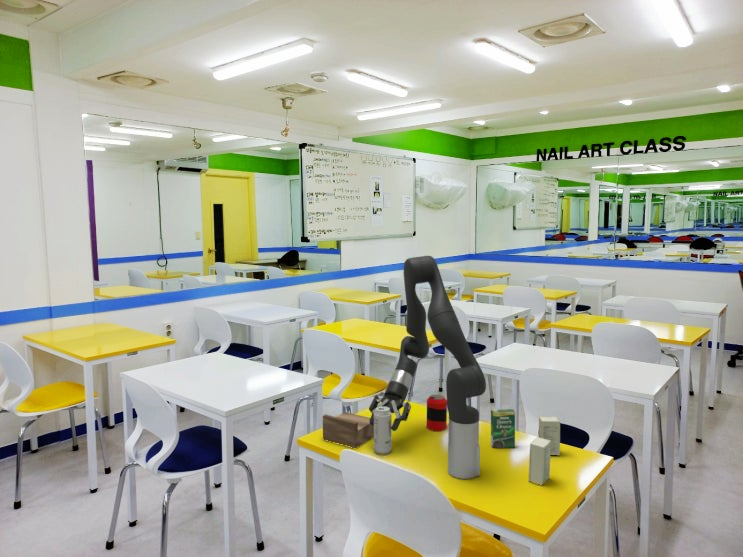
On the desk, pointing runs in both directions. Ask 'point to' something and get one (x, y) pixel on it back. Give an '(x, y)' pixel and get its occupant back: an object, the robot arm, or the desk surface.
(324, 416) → the walnut shelf block
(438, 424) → the soda can
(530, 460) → the skincare box
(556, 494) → the desk surface
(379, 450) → the energy drink can
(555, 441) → the skincare box
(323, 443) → the desk surface
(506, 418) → the coffee box
